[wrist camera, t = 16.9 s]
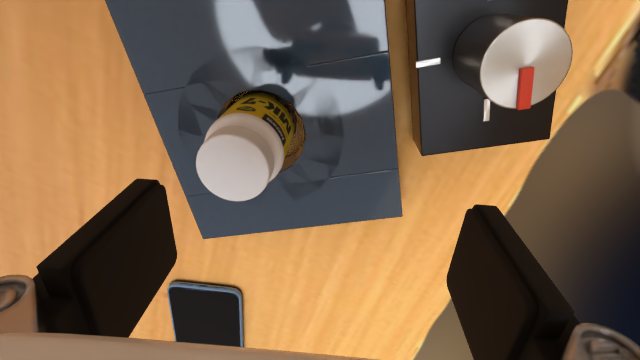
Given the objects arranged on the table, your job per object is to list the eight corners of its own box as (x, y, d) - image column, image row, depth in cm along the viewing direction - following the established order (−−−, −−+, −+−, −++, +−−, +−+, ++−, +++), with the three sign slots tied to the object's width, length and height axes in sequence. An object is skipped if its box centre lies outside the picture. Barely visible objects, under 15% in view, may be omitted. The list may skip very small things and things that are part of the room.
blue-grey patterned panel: (124, -9, 22) (100, -10, 20) (375, -65, 20) (379, -72, 18) (213, 221, 30) (203, 239, 28) (398, 199, 28) (402, 216, 26)
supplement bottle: (308, 112, 25) (294, 160, 18) (277, 161, 27) (252, 222, 20) (250, 75, 24) (209, 109, 17) (222, 128, 26) (174, 180, 19)
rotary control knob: (452, 21, 19) (483, 27, 15) (529, 6, 19) (584, 9, 14) (452, 92, 21) (480, 116, 17) (522, 81, 20) (569, 103, 16)
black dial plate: (400, -50, 20) (410, -57, 17) (550, -81, 19) (585, -95, 16) (412, 140, 26) (420, 157, 23) (529, 123, 25) (553, 139, 22)
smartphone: (240, 292, 33) (243, 387, 40) (242, 286, 34) (245, 380, 41) (163, 285, 33) (180, 381, 40) (167, 278, 34) (183, 373, 41)
